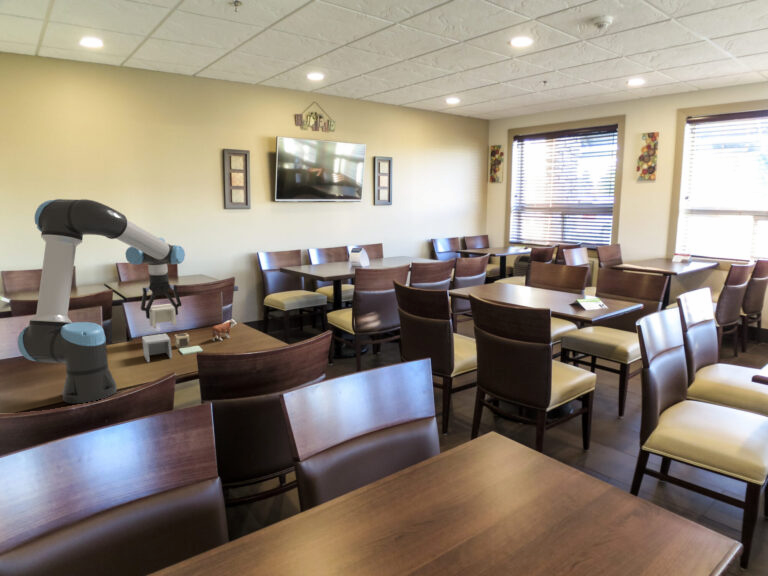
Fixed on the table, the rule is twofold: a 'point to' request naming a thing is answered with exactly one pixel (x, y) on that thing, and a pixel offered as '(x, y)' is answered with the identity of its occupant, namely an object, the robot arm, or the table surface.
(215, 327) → the bull figurine
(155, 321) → the cream hood
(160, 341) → the grey hood
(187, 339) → the letter cube
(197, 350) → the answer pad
